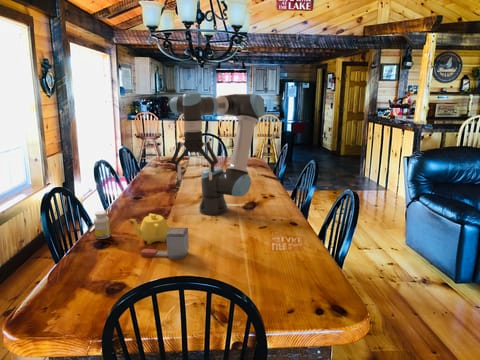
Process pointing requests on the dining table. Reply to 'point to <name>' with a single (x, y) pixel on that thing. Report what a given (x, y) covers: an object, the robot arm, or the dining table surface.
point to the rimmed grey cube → (177, 241)
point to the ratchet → (159, 254)
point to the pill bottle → (102, 225)
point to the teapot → (152, 228)
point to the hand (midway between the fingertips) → (195, 179)
